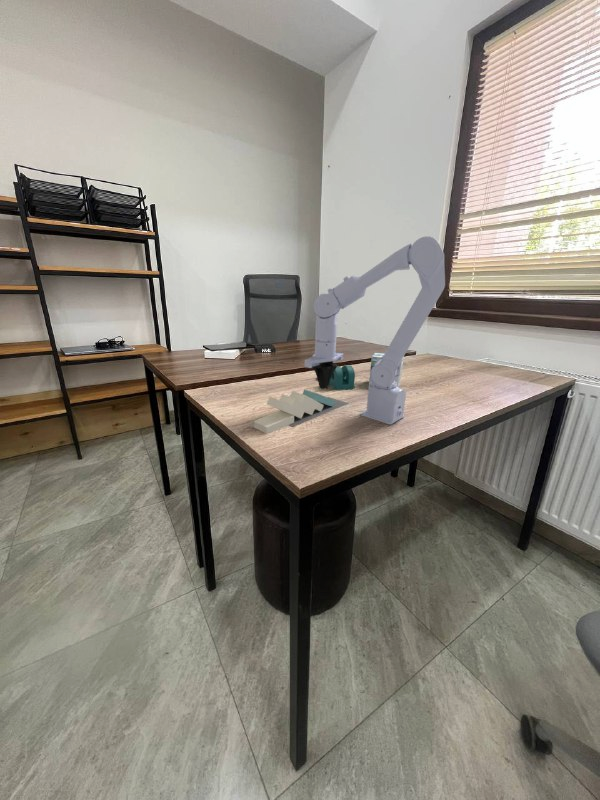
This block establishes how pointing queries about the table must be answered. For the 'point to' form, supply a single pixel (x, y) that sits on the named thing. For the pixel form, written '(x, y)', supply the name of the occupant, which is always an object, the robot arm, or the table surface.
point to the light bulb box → (399, 371)
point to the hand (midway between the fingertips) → (323, 388)
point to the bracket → (343, 378)
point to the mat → (318, 412)
